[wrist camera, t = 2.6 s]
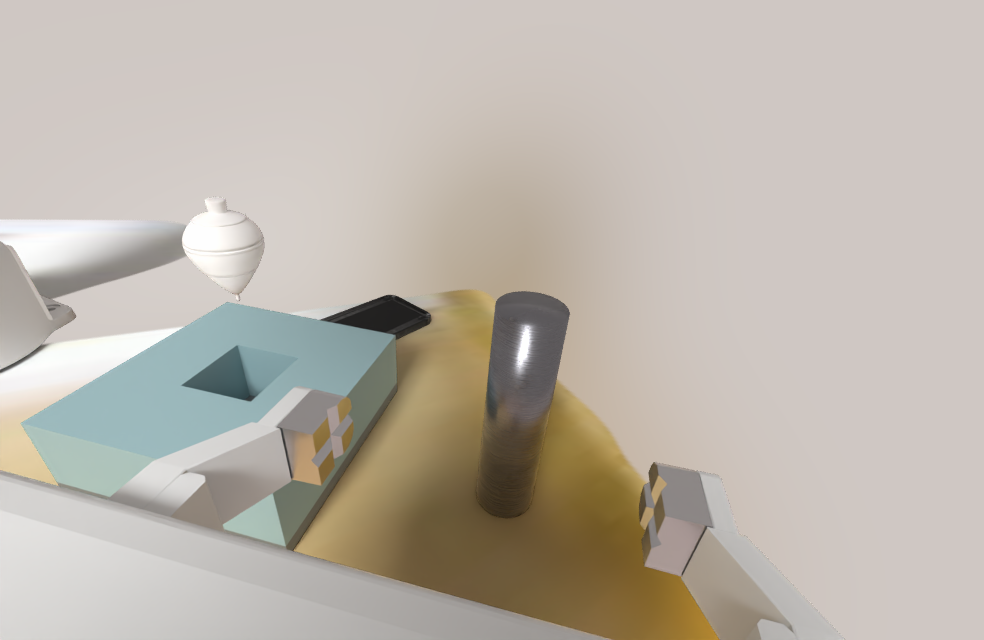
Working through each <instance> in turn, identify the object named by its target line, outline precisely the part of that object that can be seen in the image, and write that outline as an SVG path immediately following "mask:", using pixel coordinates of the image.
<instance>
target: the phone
mask: <svg viewBox="0 0 984 640" xmlns="http://www.w3.org/2000/svg"><path fill="white" fill-rule="evenodd" d="M321 321H326V322H331V323H336V324H342V325H347V326H352V327H357V328H362V329H367V330H372V331H377V332H382V333H387V334H392V335H396V340H397V339H399V338H401V337H403V336H405V335H407V334H409V333H411V332H414V331H416V330H418V329H420V328H422V327H424V326H426V325H428V324H430V321H431V315H430V313H428V312H427V311H425V310H423V309H421V308H419V307H417V306H415V305H413V304H411V303H409V302H407V301H406V300H404V299H402V298H400V297H398V296H395V295H386V296H383V297H380V298H377V299H375V300H372V301H369V302H367V303H364V304H361V305H359V306H356V307H353V308H351V309H348V310H345V311H343V312H340V313H337V314H334V315H332V316H329V317H326V318H324V319H321Z"/></svg>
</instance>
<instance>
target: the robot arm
mask: <svg viewBox="0 0 984 640" xmlns="http://www.w3.org/2000/svg"><path fill="white" fill-rule="evenodd" d="M75 318H76V315H75V313H74V312H73V310H72V309H71V308H70V307H69V306H66V305H64V304H61V303H58V302H56V301H54V300H51V299H49V298H47V297H44V296H42V295H40V294H39V293H38V291H37V289H36V287H35V285H34V283H33V282H32V280H31V278H30V276H29V274H28V273H27V271H26V269H25V267H24V265H23V263H22V262H21V260H20V258H19V256H18V255H17V253H16V251H15V250H14V249H13V247H12V246H9V245H5V244H3V243H2V242H0V369H3V368H5V367H7V366H9V365H11V364H13V363H15V362H16V361H18V360H20V359H22V358H23V357H25V356H27V355H28V354H30V353H31V352H33V351H34V350H35V349H37V348H38V347H39V346H40V345H41V344H42V343H43V342H44V341H45V340H46V339H47V337H48V336H49V335H50V334H51V333H52V332H54V331H55V330H57V329H58V328H60V327H62V326H64V325H66V324H67V323H69V322H71V321H72V320H73V319H75ZM351 409H352V407H351V400H350V399H349V398H348V397H345V396H341V395H337V394H333V393H328V392H324V391H320V390H316V389H315V390H314V389H310V388H306V387H302V386H297V387H294V388H293V389H292V390H291V391H290V392H288V393H287V394H286V395H285V396H284V397H283V398H282V399H281V400H280V401H279V402H278V403H277V404H276V405H275V406H274V407H273V408H272V409H271V410H270V411H269V412H268V413H267V414H266V415H265V416H264V417H263V418H262V419H261V420H260V421H259V422H258V423H254V422H251V423H248V424H246V425H243V426H241V427H238V428H236V429H233V430H230V431H228V432H225V433H223V434H220V435H218V436H215V437H213V438H210V439H208V440H205V441H203V442H200V443H197V444H195V445H192V446H190V447H187V448H185V449H182V450H180V451H177V452H175V453H172V454H169V455H167V456H164V457H162V458H159V459H157V460H154V461H153V462H151V463H150V464H149V465H148V466H147V467H145V468H144V469H143V470H142V471H141V472H139V473H138V474H137V475H136V476H135V477H133V478H132V479H131V480H130V481H128V482H127V483H126V484H125V485H124V486H122V487H121V488H120V489H119V490H118V491H116V492H115V493H114V494H113V495H112V496H110V497H109V498H108V499H107V500H106V499H103V498H99V497H96V496H92V495H88V494H85V493H81V492H78V491H74V490H70V489H67V488H63V487H59V486H56V485H52V484H49V483H45V482H41V481H38V480H34V479H31V478H27V477H23V476H20V475H16V474H12V473H9V472H5V471H2V470H0V640H613V639H609V638H605V637H602V636H598V635H594V634H591V633H587V632H584V631H580V630H576V629H573V628H569V627H565V626H562V625H558V624H555V623H551V622H547V621H544V620H540V619H536V618H533V617H529V616H526V615H522V614H518V613H515V612H511V611H507V610H504V609H500V608H496V607H493V606H489V605H486V604H482V603H478V602H475V601H471V600H467V599H464V598H460V597H457V596H453V595H449V594H446V593H442V592H439V591H435V590H431V589H428V588H424V587H421V586H417V585H413V584H410V583H406V582H402V581H399V580H395V579H392V578H388V577H384V576H381V575H377V574H374V573H370V572H366V571H363V570H359V569H356V568H352V567H348V566H345V565H341V564H338V563H334V562H330V561H327V560H323V559H319V558H316V557H312V556H309V555H305V554H301V553H298V552H294V551H291V550H287V549H283V548H280V547H276V546H273V545H269V544H265V543H262V542H258V541H254V540H251V539H247V538H244V537H240V536H236V535H233V534H229V533H226V532H225V530H224V527H223V524H225V523H226V522H228V521H229V520H231V519H232V518H234V517H236V516H237V515H239V514H240V513H242V512H244V511H245V510H247V509H248V508H250V507H251V506H253V505H255V504H256V503H258V502H259V501H261V500H263V499H264V498H266V497H267V496H269V495H270V494H272V493H274V492H275V491H277V490H278V489H280V488H282V487H283V486H285V485H286V484H288V483H289V482H291V481H292V480H297V481H302V482H306V483H311V484H315V485H320V486H321V485H322V484H323V483H324V481H325V480H326V478H327V477H328V476H329V474H330V473H331V471H332V470H333V468H334V467H335V464H334V459H335V458H337V457H339V456H341V455H343V454H344V453H345V451H346V450H347V448H348V447H349V444H350V442H351V439H352V436H353V430H354V425H353V420H352V419H351V417H350V416H349V415H348V413H349V411H350V410H351ZM291 479H292V480H291ZM649 480H650V482H649V483H647V484H645V485H644V487H643V490H642V493H641V497H640V504H639V519H640V524H641V526H642V527H643V528H644V530H645V532H644V535H643V538H642V550H643V559H644V566H645V567H649V568H653V569H656V570H660V571H664V572H667V573H671V574H674V575H678V576H682V577H681V579H682V580H683V582H684V584H685V585H686V587H687V588H688V590H689V592H690V593H691V595H692V596H693V598H694V600H695V601H696V603H697V604H698V606H699V607H700V609H701V611H702V612H703V614H704V615H705V617H706V619H707V620H708V622H709V623H710V625H711V627H712V628H713V630H714V631H715V633H716V634H717V636H718V638H719V639H720V640H845V638H844V637H843V636H842V635H841V634H840V633H839V632H838V631H837V630H836V629H835V628H834V627H833V626H832V625H831V624H830V623H829V622H828V621H827V620H826V619H825V618H824V617H823V616H822V614H821V613H820V612H819V611H818V610H817V609H816V608H815V607H814V606H813V605H812V604H811V603H810V602H809V601H808V600H807V599H806V598H805V597H804V596H803V595H802V594H801V593H800V591H799V590H798V589H797V588H796V587H795V586H794V585H793V584H792V583H791V582H790V581H789V580H788V579H787V578H786V577H785V576H784V575H783V574H782V573H781V572H780V571H779V570H778V569H777V567H776V566H775V565H774V564H773V563H772V562H771V561H770V560H769V559H768V558H767V557H766V556H765V555H764V554H763V553H762V552H761V551H760V550H759V549H758V548H757V547H756V546H755V544H753V543H752V541H751V540H750V539H749V538H748V537H747V536H744V535H740V534H739V531H738V528H737V525H736V522H735V519H734V516H733V513H732V510H731V506H730V503H729V500H728V497H727V494H726V491H725V488H724V485H723V482H722V479H721V478H720V477H719V475H716V474H711V473H706V472H701V471H694V470H690V469H686V468H680V467H676V466H671V465H666V464H660V463H656V462H654V463H653V464H652V466H651V468H650V470H649Z"/></svg>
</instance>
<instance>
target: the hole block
mask: <svg viewBox="0 0 984 640" xmlns="http://www.w3.org/2000/svg"><path fill="white" fill-rule="evenodd" d="M297 386H302V387H306V388H310V389H314V390H315V389H316V390H320V391H324V392H328V393H333V394H337V395H341V396H345V397H348V398H349V399H350V400H351V407H352V409H351V410H350V411H349V413H348V415H349V416H350V417H351V419H352V420H353V425H354V430H353V436H352V439H351V442H350V444H349V447H348V448H347V450H346V451H345V453H344V454H343V455H341V456H339V457H337V458H335V459H334V464H335V467H334V468H333V470H332V471H331V473H330V474H329V476H328V477H327V478H326V480H325V481H324V483H323V484H322V485H321V486H320V485H315V484H311V483H306V482H302V481H297V480H292V479H291V480H292V481H291V482H289V483H288V484H286V485H285V486H283V487H282V488H280V489H278V490H277V491H275V492H274V493H272V494H270V495H269V496H267V497H266V498H264V499H263V500H261V501H259V502H258V503H256V504H255V505H253V506H251V507H250V508H248V509H247V510H245V511H244V512H242V513H240V514H239V515H237V516H236V517H234V518H232V519H231V520H229V521H228V522H226V523H225V524H223V527H224V530H225V532H226V533H229V534H233V535H236V536H240V537H244V538H247V539H251V540H254V541H258V542H262V543H265V544H269V545H273V546H276V547H280V548H283V549H287V550H291V551H293V549H294V548H295V546H296V545H297V543H298V542H299V540H300V539H301V537H302V535H303V534H304V532H305V531H306V529H307V528H308V526H309V525H310V523H311V522H312V520H313V519H314V517H315V516H316V514H317V513H318V511H319V509H320V508H321V506H322V505H323V503H324V502H325V500H326V499H327V497H328V496H329V494H330V493H331V491H332V490H333V488H334V487H335V485H336V484H337V482H338V480H339V479H340V477H341V476H342V474H343V473H344V471H345V470H346V468H347V467H348V465H349V464H350V462H351V461H352V459H353V458H354V456H355V455H356V453H357V451H358V450H359V448H360V447H361V445H362V444H363V442H364V441H365V439H366V438H367V436H368V435H369V433H370V432H371V430H372V429H373V427H374V426H375V424H376V422H377V421H378V419H379V418H380V416H381V415H382V413H383V412H384V410H385V409H386V407H387V406H388V404H389V403H390V401H391V400H392V398H393V397H394V395H395V393H396V392H397V366H396V335H392V334H387V333H382V332H377V331H372V330H367V329H362V328H357V327H352V326H347V325H342V324H336V323H331V322H326V321H321V320H316V319H311V318H306V317H301V316H296V315H291V314H286V313H280V312H275V311H270V310H265V309H260V308H255V307H250V306H244V305H240V304H234V303H229V302H226V303H225V304H223V305H221V306H220V307H218V308H216V309H215V310H213V311H211V312H209V313H208V314H206V315H204V316H203V317H201V318H199V319H198V320H196V321H194V322H192V323H191V324H189V325H187V326H185V327H184V328H182V329H180V330H179V331H177V332H175V333H174V334H172V335H170V336H168V337H167V338H165V339H163V340H162V341H160V342H158V343H156V344H155V345H153V346H151V347H150V348H148V349H146V350H145V351H143V352H141V353H139V354H138V355H136V356H134V357H133V358H131V359H129V360H127V361H126V362H124V363H122V364H121V365H119V366H117V367H116V368H114V369H112V370H110V371H109V372H107V373H105V374H104V375H102V376H100V377H98V378H97V379H95V380H93V381H92V382H90V383H88V384H87V385H85V386H83V387H81V388H80V389H78V390H76V391H75V392H73V393H71V394H70V395H68V396H66V397H64V398H63V399H61V400H59V401H58V402H56V403H54V404H52V405H51V406H49V407H47V408H46V409H44V410H42V411H41V412H39V413H37V414H35V415H34V416H32V417H30V418H29V419H27V420H25V421H23V422H22V423H21V425H22V426H23V428H24V430H25V431H26V433H27V435H28V436H29V438H30V439H31V441H32V443H33V444H34V446H35V448H36V449H37V451H38V452H39V454H40V456H41V457H42V459H43V460H44V462H45V464H46V465H47V467H48V469H49V470H50V472H51V473H52V475H53V477H54V478H55V480H56V482H57V483H58V485H59V486H60V487H63V488H67V489H70V490H74V491H78V492H81V493H85V494H88V495H92V496H96V497H99V498H103V499H106V500H107V499H108V498H109V497H110V496H112V495H113V494H114V493H115V492H116V491H118V490H119V489H120V488H121V487H122V486H124V485H125V484H126V483H127V482H128V481H130V480H131V479H132V478H133V477H135V476H136V475H137V474H138V473H139V472H141V471H142V470H143V469H144V468H145V467H147V466H148V465H149V464H150V463H151V462H153V461H154V460H157V459H159V458H162V457H164V456H167V455H169V454H172V453H175V452H177V451H180V450H182V449H185V448H187V447H190V446H192V445H195V444H197V443H200V442H203V441H205V440H208V439H210V438H213V437H215V436H218V435H220V434H223V433H225V432H228V431H230V430H233V429H236V428H238V427H241V426H243V425H246V424H248V423H251V422H254V423H258V422H259V421H260V420H261V419H262V418H263V417H264V416H265V415H266V414H267V413H268V412H269V411H270V410H271V409H272V408H273V407H274V406H275V405H276V404H277V403H278V402H279V401H280V400H281V399H282V398H283V397H284V396H285V395H286V394H287V393H288V392H290V391H291V390H292V389H293V388H294V387H297Z"/></svg>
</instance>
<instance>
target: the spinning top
mask: <svg viewBox="0 0 984 640" xmlns="http://www.w3.org/2000/svg"><path fill="white" fill-rule="evenodd" d="M204 202H205V204H206V207H207V210H208V211H207V212H203V213H201V214H198V215H196V216H195V217H193V218H192V219H191V221H190V222H189V224H188V225H187V227H186V228H185V230H184V233H183V236H182V244H183V248H184V251H185V253H186V255H187V256H188V258H189V259H190V260H191V261H192V263H193V264H194V265H195V266H196V267H197V268H198V269H199V270H200V271H201V272H202V273H203V274H205V275H206V276H207V277H209V278H210V279H211V280H213V281H214V282H215V283H217V284H218V285H219V286H221V287H222V288H224V289H225V290H227V291H229V292H231V293H232V294H235V295H236V299H237V301H240V297H239V293H241V292H242V291H243V289H244V288H245V287H246V286H247V284H248V283H249V281H250V279H251V278H252V276H253V274H254V273H255V271H256V269H257V267H258V265H259V263H260V261H261V258H262V255H263V252H264V237H263V235H262V232H261V230H260V229H259V228H258V226H257V225H256V224H255V223H254V222H252V221H251V220H250V219H249V218H247V217H246V215H244V214H242V213H239V212H235V211H231V210H227V206H226V199H224V198H222V197H210V198H207V199H205V200H204Z"/></svg>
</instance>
